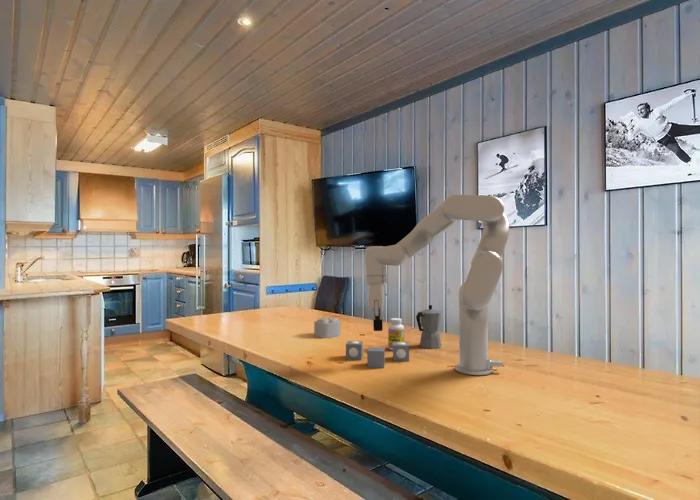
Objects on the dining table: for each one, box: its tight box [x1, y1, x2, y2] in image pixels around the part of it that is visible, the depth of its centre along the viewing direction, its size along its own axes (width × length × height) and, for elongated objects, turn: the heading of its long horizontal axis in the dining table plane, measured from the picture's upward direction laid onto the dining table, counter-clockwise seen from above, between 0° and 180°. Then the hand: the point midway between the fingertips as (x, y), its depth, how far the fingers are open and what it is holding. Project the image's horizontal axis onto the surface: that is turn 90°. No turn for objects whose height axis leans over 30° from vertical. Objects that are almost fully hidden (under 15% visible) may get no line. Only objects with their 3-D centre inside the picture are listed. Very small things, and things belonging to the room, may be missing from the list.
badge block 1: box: [345, 340, 364, 361], centre depth 167 cm, size 6×6×6 cm
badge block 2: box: [392, 341, 410, 362], centre depth 165 cm, size 6×6×6 cm
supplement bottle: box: [387, 317, 405, 351], centre depth 181 cm, size 7×7×13 cm
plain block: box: [366, 346, 386, 369], centre depth 156 cm, size 6×6×6 cm
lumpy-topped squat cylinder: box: [313, 316, 342, 339], centre depth 210 cm, size 10×13×9 cm
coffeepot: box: [415, 304, 442, 350], centre depth 185 cm, size 15×9×18 cm, turn 129°
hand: (378, 330), depth 156 cm, fingers closed
